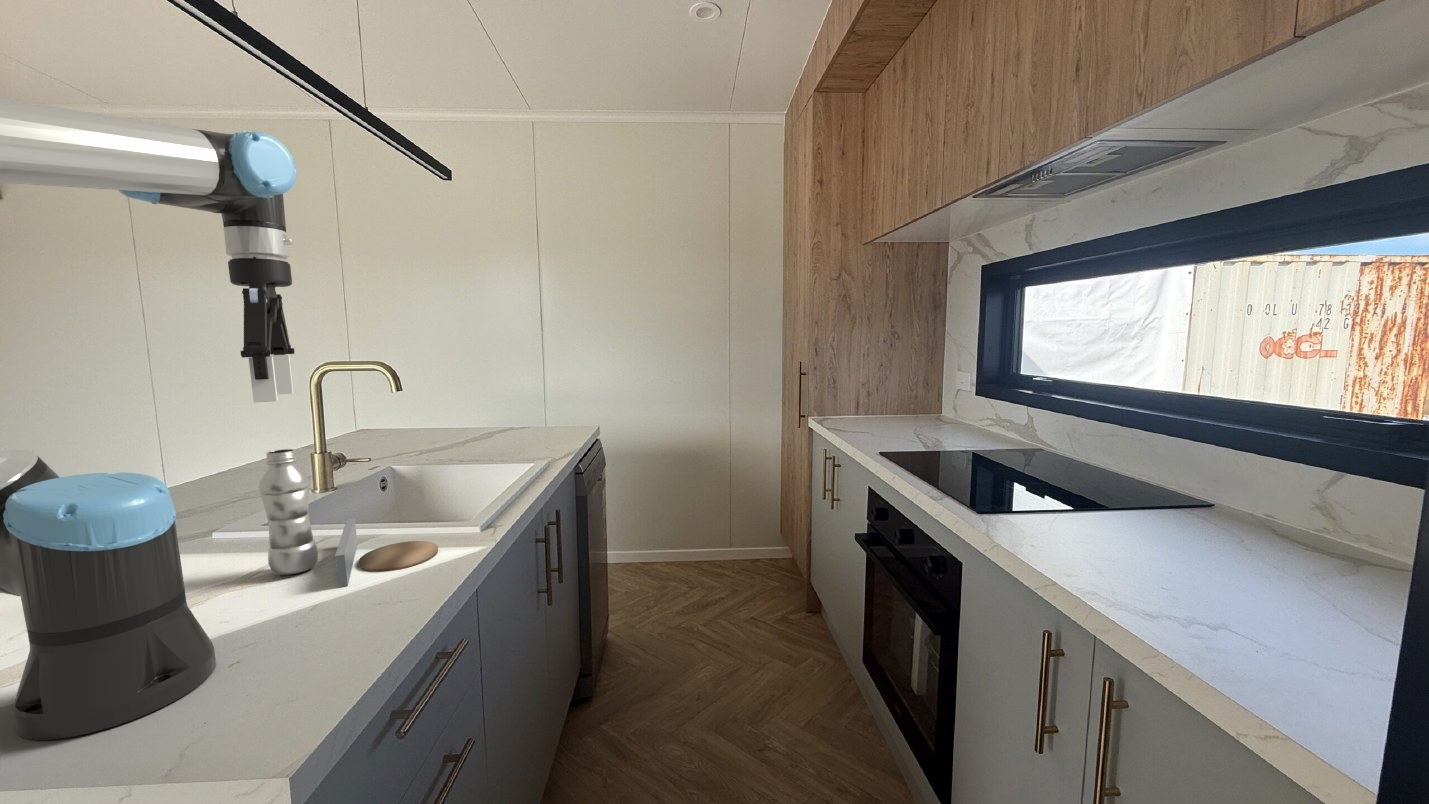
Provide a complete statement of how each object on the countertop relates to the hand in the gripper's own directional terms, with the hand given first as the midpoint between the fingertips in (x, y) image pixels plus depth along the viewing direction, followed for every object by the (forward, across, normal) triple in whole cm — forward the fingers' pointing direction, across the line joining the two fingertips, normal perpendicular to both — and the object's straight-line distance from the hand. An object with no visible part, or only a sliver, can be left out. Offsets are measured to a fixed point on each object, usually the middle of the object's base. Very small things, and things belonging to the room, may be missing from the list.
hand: (275, 397), depth 91 cm
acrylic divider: (+28, -1, -8) cm, 29 cm away
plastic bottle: (+29, 0, 0) cm, 29 cm away
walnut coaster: (+28, -2, -15) cm, 32 cm away
